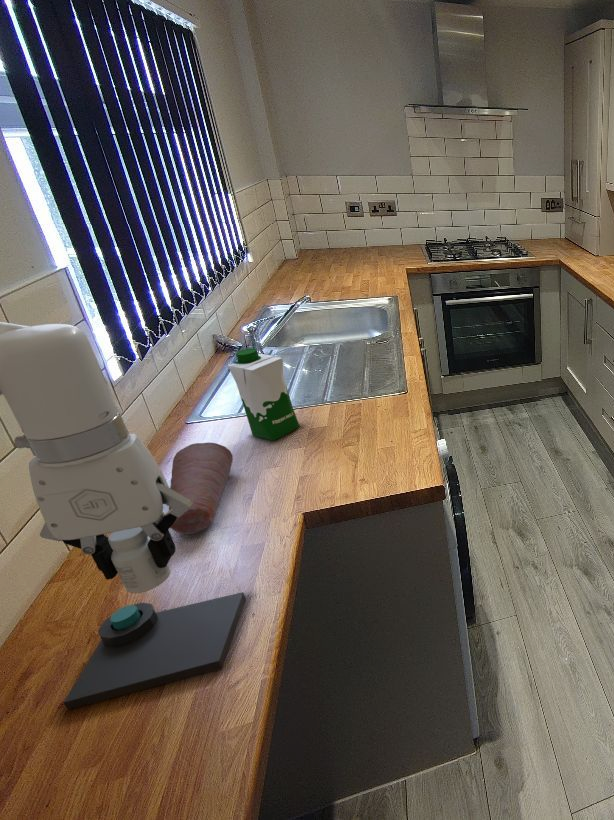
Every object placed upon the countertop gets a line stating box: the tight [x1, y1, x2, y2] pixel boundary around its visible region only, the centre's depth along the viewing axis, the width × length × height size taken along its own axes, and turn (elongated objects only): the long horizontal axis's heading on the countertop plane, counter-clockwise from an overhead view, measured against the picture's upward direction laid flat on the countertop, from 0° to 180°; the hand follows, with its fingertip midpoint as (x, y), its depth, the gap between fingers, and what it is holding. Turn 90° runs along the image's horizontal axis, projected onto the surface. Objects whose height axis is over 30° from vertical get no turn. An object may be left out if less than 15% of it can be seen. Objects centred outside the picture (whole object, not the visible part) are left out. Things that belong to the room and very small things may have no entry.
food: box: [168, 442, 234, 535], centre depth 97 cm, size 21×9×9 cm, turn 32°
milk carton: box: [227, 348, 301, 442], centre depth 120 cm, size 9×9×20 cm
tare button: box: [109, 604, 141, 630], centre depth 71 cm, size 3×3×2 cm
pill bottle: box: [107, 527, 171, 594], centre depth 64 cm, size 4×4×8 cm
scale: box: [63, 591, 247, 711], centre depth 70 cm, size 16×13×3 cm
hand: (141, 564), depth 64 cm, fingers closed on pill bottle, 4 cm apart
